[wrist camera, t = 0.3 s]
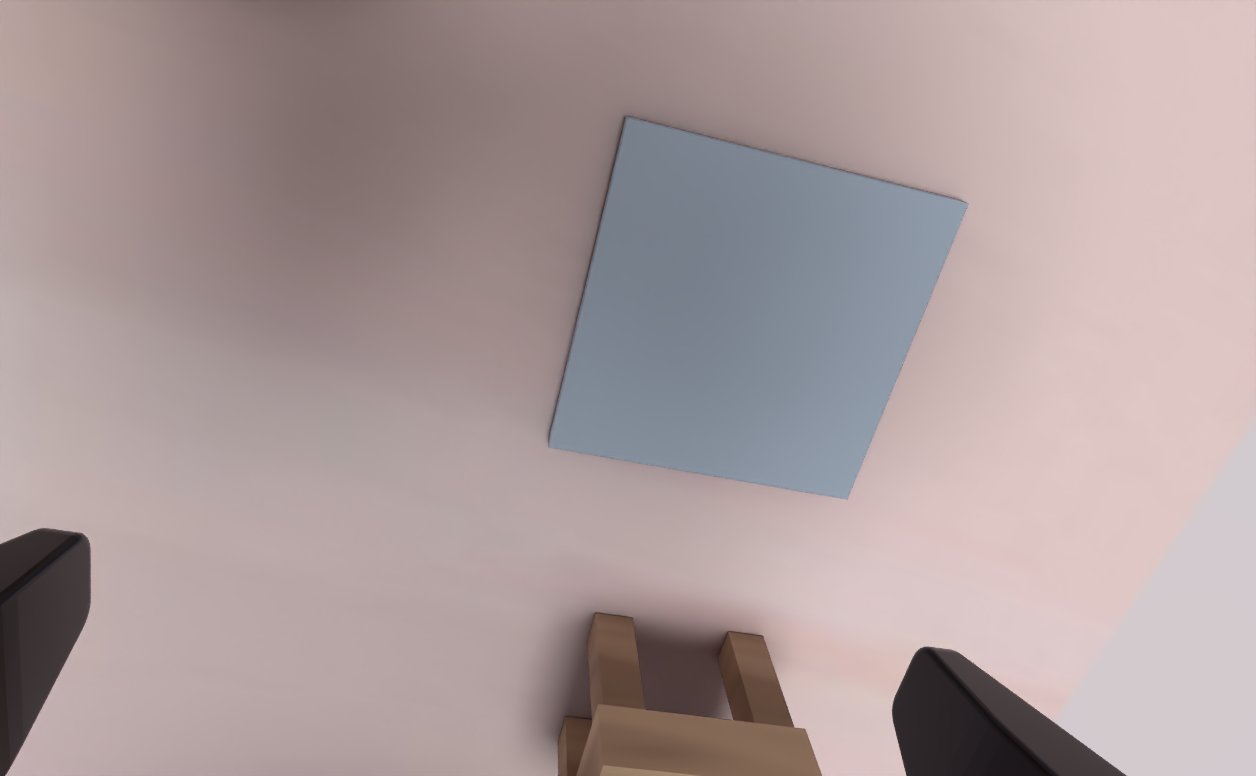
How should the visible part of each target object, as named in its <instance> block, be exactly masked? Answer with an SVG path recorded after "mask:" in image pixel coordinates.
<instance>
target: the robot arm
mask: <svg viewBox="0 0 1256 776" xmlns="http://www.w3.org/2000/svg"><path fill="white" fill-rule="evenodd" d="M90 602H91V558H90V543H89V540H88V538H87V537H86V536H85V535H84V534H82V533H78V532H71V531H63V530H56V529H48V528H41V529H37V530H34V531H31V532H29V533H26V534H24V535H21V536H19V537H16V538H14V539H11V540H9V541H7V542H4V543H2V544H0V776H5V775H6V774H7V772H8V770H9V769H10V767H11V765H12V763H13V762H14V760H15V758H16V756H17V754H18V753H19V751H20V749H21V747H22V745H23V743H24V741H25V740H26V738H27V736H28V734H29V732H30V730H31V728H32V726H33V724H34V722H35V720H36V718H37V716H38V714H39V712H40V710H41V709H42V707H43V705H44V703H45V701H46V699H47V697H48V695H49V693H50V691H51V689H52V687H53V685H54V683H55V681H56V679H57V678H58V676H59V674H60V672H61V670H62V668H63V666H64V664H65V662H66V660H67V658H68V656H69V654H70V652H71V650H72V648H73V647H74V645H75V643H76V641H77V639H78V637H79V635H80V633H81V631H82V629H83V627H84V625H85V622H86V620H87V617H88V613H89V609H90ZM892 716H893V723H894V727H895V731H896V735H897V739H898V743H899V747H900V751H901V755H902V760H903V764H904V768H905V772H906V776H1126V775H1125V774H1124V773H1122V772H1121V771H1119V770H1118V769H1117V768H1115V767H1114V766H1113V765H1111V764H1110V763H1109V762H1107V761H1106V760H1104V759H1103V758H1102V757H1100V756H1099V755H1098V754H1096V753H1095V752H1094V751H1092V750H1091V749H1089V748H1088V747H1087V746H1085V745H1084V744H1083V743H1081V742H1080V741H1079V740H1077V739H1076V738H1074V737H1073V736H1072V735H1070V734H1069V733H1068V732H1066V731H1065V730H1064V729H1062V728H1061V727H1059V726H1058V725H1057V724H1055V723H1054V722H1053V721H1051V720H1050V719H1049V718H1047V717H1046V716H1044V715H1043V714H1042V713H1040V712H1039V711H1038V710H1036V709H1035V708H1034V707H1032V706H1031V705H1029V704H1028V703H1027V702H1025V701H1024V700H1023V699H1021V698H1020V697H1019V696H1017V695H1016V694H1014V693H1013V692H1012V691H1010V690H1009V689H1008V688H1006V687H1005V686H1004V685H1002V684H1001V683H999V682H998V681H997V680H995V679H994V678H993V677H991V676H990V675H989V674H987V673H986V672H984V671H983V670H982V669H980V668H979V667H978V666H976V665H975V664H974V663H972V662H971V661H969V660H968V659H967V658H965V657H964V656H963V655H961V654H960V653H958V652H956V651H954V650H950V649H942V648H935V647H923V648H920V649H919V650H918V651H917V652H916V653H915V655H914V656H913V658H912V660H911V663H910V665H909V667H908V669H907V671H906V674H905V676H904V678H903V680H902V682H901V684H900V687H899V689H898V691H897V693H896V695H895V698H894V702H893V707H892Z"/></svg>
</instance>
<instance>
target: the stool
mask: <svg viewBox="0 0 1256 776" xmlns="http://www.w3.org/2000/svg"><path fill="white" fill-rule="evenodd" d="M587 651H588V666H589V681H590V695H591V710H592V720H590V719H581V718H573V717H565V720H564V723H563V727H562V730H561V733H560V737H559V740H558V776H822V774H821V772H820V769H819V766H818V763H817V760H816V758H815V755H814V752H813V749H812V746H811V744H810V741H809V738H808V735H807V732H806V730H805V729H802V728H794V725H793V722H792V719H791V716H790V713H789V710H788V707H787V705H786V702H785V699H784V696H783V693H782V690H781V687H780V684H779V681H778V678H777V675H776V673H775V670H774V667H773V664H772V661H771V658H770V655H769V652H768V649H767V646H766V643H765V640H764V638H763V636H757V635H750V634H743V633H736V632H728V633H727V636H726V639H725V642H724V644H723V647H722V650H721V652H720V655H719V658H718V663H719V667H720V671H721V675H722V678H723V682H724V686H725V690H726V694H727V697H728V701H729V705H730V709H731V713H732V716H733V720H727V719H718V718H710V717H702V716H693V715H685V714H677V713H668V712H660V711H652V710H646V709H645V702H644V695H643V688H642V681H641V674H640V667H639V660H638V653H637V646H636V639H635V632H634V625H633V618H628V617H621V616H614V615H607V614H600V613H595V616H594V620H593V623H592V627H591V630H590V634H589V637H588V641H587Z"/></svg>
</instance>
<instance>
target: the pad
mask: <svg viewBox="0 0 1256 776" xmlns="http://www.w3.org/2000/svg"><path fill="white" fill-rule="evenodd" d="M967 206H968V203H966V202H964V201H962V200H958V199H954V198H950V197H947V196H943V195H939V194H935V193H931V192H927V191H923V190H919V189H915V188H911V187H907V186H903V185H899V184H895V183H891V182H887V181H883V180H879V179H875V178H871V177H867V176H863V175H859V174H855V173H851V172H847V171H843V170H839V169H835V168H831V167H827V166H824V165H820V164H816V163H812V162H808V161H804V160H800V159H796V158H792V157H788V156H784V155H780V154H776V153H772V152H768V151H764V150H760V149H756V148H752V147H748V146H744V145H740V144H736V143H732V142H728V141H724V140H720V139H716V138H712V137H708V136H704V135H700V134H697V133H693V132H689V131H685V130H681V129H677V128H673V127H669V126H665V125H661V124H657V123H653V122H649V121H645V120H641V119H637V118H633V117H629V116H626V118H625V122H624V126H623V131H622V135H621V139H620V143H619V147H618V151H617V156H616V160H615V164H614V168H613V172H612V177H611V181H610V185H609V189H608V193H607V197H606V202H605V206H604V210H603V214H602V218H601V223H600V227H599V231H598V235H597V239H596V243H595V248H594V252H593V256H592V260H591V264H590V269H589V273H588V277H587V281H586V285H585V290H584V294H583V298H582V302H581V306H580V310H579V315H578V319H577V323H576V327H575V331H574V336H573V340H572V344H571V348H570V352H569V356H568V361H567V365H566V369H565V373H564V377H563V382H562V386H561V390H560V394H559V398H558V402H557V407H556V411H555V415H554V419H553V423H552V428H551V432H550V436H549V440H548V447H549V448H555V449H561V450H567V451H572V452H578V453H584V454H589V455H595V456H601V457H607V458H612V459H618V460H624V461H629V462H635V463H641V464H647V465H652V466H658V467H664V468H669V469H675V470H681V471H687V472H692V473H698V474H704V475H709V476H715V477H721V478H727V479H732V480H738V481H744V482H749V483H755V484H761V485H767V486H772V487H778V488H784V489H790V490H795V491H801V492H807V493H812V494H818V495H824V496H830V497H835V498H841V499H848V496H849V494H850V491H851V489H852V487H853V484H854V482H855V479H856V477H857V474H858V472H859V470H860V467H861V465H862V462H863V460H864V457H865V455H866V452H867V450H868V448H869V445H870V443H871V440H872V438H873V435H874V433H875V431H876V428H877V426H878V423H879V421H880V418H881V416H882V413H883V411H884V409H885V406H886V404H887V401H888V399H889V396H890V394H891V392H892V389H893V387H894V384H895V382H896V379H897V377H898V375H899V372H900V370H901V367H902V365H903V362H904V360H905V357H906V355H907V353H908V350H909V348H910V345H911V343H912V340H913V338H914V336H915V333H916V331H917V328H918V326H919V323H920V321H921V318H922V316H923V314H924V311H925V309H926V306H927V304H928V301H929V299H930V297H931V294H932V292H933V289H934V287H935V284H936V282H937V279H938V277H939V275H940V272H941V270H942V267H943V265H944V262H945V260H946V258H947V255H948V253H949V250H950V248H951V245H952V243H953V240H954V238H955V236H956V233H957V231H958V228H959V226H960V223H961V221H962V219H963V216H964V214H965V211H966V209H967Z"/></svg>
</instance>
